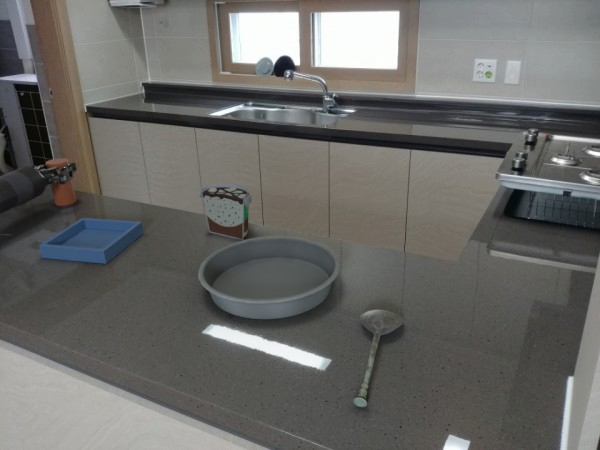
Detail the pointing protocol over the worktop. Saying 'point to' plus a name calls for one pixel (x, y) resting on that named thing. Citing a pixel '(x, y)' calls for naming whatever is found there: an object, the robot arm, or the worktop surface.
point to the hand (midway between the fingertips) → (64, 165)
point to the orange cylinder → (61, 192)
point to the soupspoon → (375, 342)
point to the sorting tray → (91, 240)
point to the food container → (227, 209)
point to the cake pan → (269, 276)
